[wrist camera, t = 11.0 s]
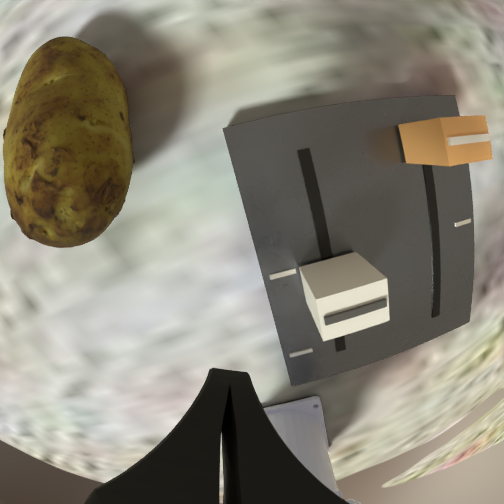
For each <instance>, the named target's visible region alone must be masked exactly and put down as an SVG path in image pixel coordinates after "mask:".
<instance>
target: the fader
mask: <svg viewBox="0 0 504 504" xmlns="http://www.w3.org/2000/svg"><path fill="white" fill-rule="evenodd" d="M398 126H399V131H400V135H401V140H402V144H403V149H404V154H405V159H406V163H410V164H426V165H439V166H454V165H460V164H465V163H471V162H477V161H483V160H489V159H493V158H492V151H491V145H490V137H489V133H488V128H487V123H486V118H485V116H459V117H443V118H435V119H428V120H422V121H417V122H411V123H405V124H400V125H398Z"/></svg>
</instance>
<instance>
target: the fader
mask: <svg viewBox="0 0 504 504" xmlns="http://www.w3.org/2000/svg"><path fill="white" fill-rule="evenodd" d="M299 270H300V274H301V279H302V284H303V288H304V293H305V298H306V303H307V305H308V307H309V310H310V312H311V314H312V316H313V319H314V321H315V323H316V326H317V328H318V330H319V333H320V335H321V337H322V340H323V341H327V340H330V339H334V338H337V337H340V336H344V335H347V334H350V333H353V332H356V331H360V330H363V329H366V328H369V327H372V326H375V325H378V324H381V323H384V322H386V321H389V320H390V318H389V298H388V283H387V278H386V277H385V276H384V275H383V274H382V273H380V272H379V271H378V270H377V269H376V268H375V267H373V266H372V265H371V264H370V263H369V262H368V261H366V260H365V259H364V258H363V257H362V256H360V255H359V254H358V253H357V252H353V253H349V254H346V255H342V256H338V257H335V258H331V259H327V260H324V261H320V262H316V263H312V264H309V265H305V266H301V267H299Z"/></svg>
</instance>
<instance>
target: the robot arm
mask: <svg viewBox="0 0 504 504" xmlns="http://www.w3.org/2000/svg"><path fill="white" fill-rule="evenodd" d="M316 404H317V405H316ZM221 431H222V455H223V475H224V495H223V504H361V503H360V502H357V501H355V500H354V499H348V500H344V499H343V498H342V494H341V491H338V488H337V485H336V480H335V477H334V473H333V469H332V465H331V462H330V458H329V454H328V452H329V446H328V440H327V434H326V428H325V422H324V416H323V410H322V405H321V400H320V397H318V396H313V397H309V398H305V399H301V400H297V401H293V402H289V403H284V404H280V405H275V406H271V407H266V408H263V407H262V405H261V403H260V401H259V399H258V396H257V394H256V392H255V389H254V387H253V384H252V381H251V378H250V375H249V374H248V373H247V372H240V371H232V370H224V369H217V368H212V369H210V370H209V373H208V376H207V379H206V381H205V383H204V385H203V387H202V389H201V391H200V393H199V394H198V396H197V397H196V399H195V401H194V402H193V404H192V405H191V407H190V408H189V410H188V411H187V412H186V414H185V415H184V416H183V418H182V419H181V420H180V421H179V423H178V424H177V425H176V426H175V427H174V429H173V430H172V431H171V432H170V433H169V434H168V435H167V436H166V437H165V438H164V439H163V440H162V441H161V442H160V443H159V444H158V445H157V446H156V447H155V448H154V449H153V450H152V451H151V452H149V453H148V454H147V455H146V456H145V457H144V458H142V459H141V460H140V461H138V462H137V463H136V464H134V465H133V466H131V467H130V468H129V469H127V470H126V471H125V472H123V473H122V474H120V475H118V476H117V477H115V478H113V479H112V480H110V481H108V482H106V483H105V484H103V485H101V486H99V487H97V488H96V489H94V490H93V492H92V493H91V494H90V496H89V497H88V498H87V500H86V502H85V503H84V504H219V474H220V441H221Z"/></svg>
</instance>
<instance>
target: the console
mask: <svg viewBox="0 0 504 504" xmlns="http://www.w3.org/2000/svg"><path fill="white" fill-rule="evenodd" d="M459 116H460V115H459V111H458V107H457V103H456V99H455V95H437V96H413V97H398V98H386V99H375V100H366V101H358V102H350V103H342V104H336V105H329V106H323V107H317V108H311V109H305V110H300V111H295V112H290V113H285V114H280V115H275V116H271V117H266V118H262V119H257V120H253V121H249V122H245V123H241V124H237V125H233V126H230V127H226V128H223V132H224V135H225V139H226V143H227V146H228V150H229V154H230V157H231V161H232V165H233V168H234V172H235V176H236V180H237V183H238V187H239V191H240V194H241V198H242V202H243V205H244V209H245V213H246V217H247V220H248V224H249V228H250V231H251V235H252V239H253V243H254V246H255V250H256V254H257V257H258V261H259V265H260V269H261V272H262V276H263V280H264V284H265V287H266V291H267V295H268V299H269V302H270V306H271V310H272V314H273V317H274V321H275V325H276V329H277V332H278V336H279V340H280V344H281V348H282V351H283V355H284V359H285V363H286V366H287V370H288V374H289V378H290V382H291V385H292V386H295V385H299V384H303V383H307V382H311V381H315V380H318V379H322V378H325V377H329V376H332V375H336V374H339V373H342V372H345V371H349V370H352V369H355V368H358V367H361V366H364V365H367V364H370V363H373V362H376V361H378V360H381V359H384V358H387V357H389V356H392V355H395V354H397V353H400V352H403V351H405V350H408V349H410V348H413V347H415V346H418V345H420V344H422V343H425V342H427V341H429V340H432V339H434V338H436V337H438V336H441V335H443V334H445V333H447V332H449V331H452V330H454V329H456V328H458V327H460V326H462V325H464V324H466V323H468V322H469V321H470V312H471V303H472V291H473V274H474V219H473V202H472V190H471V181H470V172H469V164H468V163H465V164H460V165H454V166H439V165H426V164H410V163H406V159H405V154H404V149H403V144H402V140H401V135H400V131H399V126H398V125H400V124H405V123H411V122H417V121H422V120H428V119H435V118H443V117H459ZM353 252H357V253H358V254H359V255H360V256H362V257H363V258H364V259H365V260H366V261H368V262H369V263H370V264H371V265H372V266H373V267H375V268H376V269H377V270H378V271H379V272H380V273H382V274H383V275H384V276H385V277H386V278H387V283H388V298H389V318H390V320H389V321H386V322H384V323H381V324H378V325H375V326H372V327H369V328H366V329H363V330H360V331H356V332H353V333H350V334H347V335H344V336H340V337H337V338H334V339H330V340H327V341H323V340H322V337H321V335H320V333H319V330H318V328H317V326H316V323H315V321H314V319H313V316H312V314H311V312H310V310H309V307H308V305H307V303H306V298H305V293H304V288H303V284H302V279H301V274H300V270H299V267H301V266H305V265H309V264H312V263H316V262H320V261H324V260H327V259H331V258H335V257H338V256H342V255H346V254H349V253H353Z"/></svg>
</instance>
